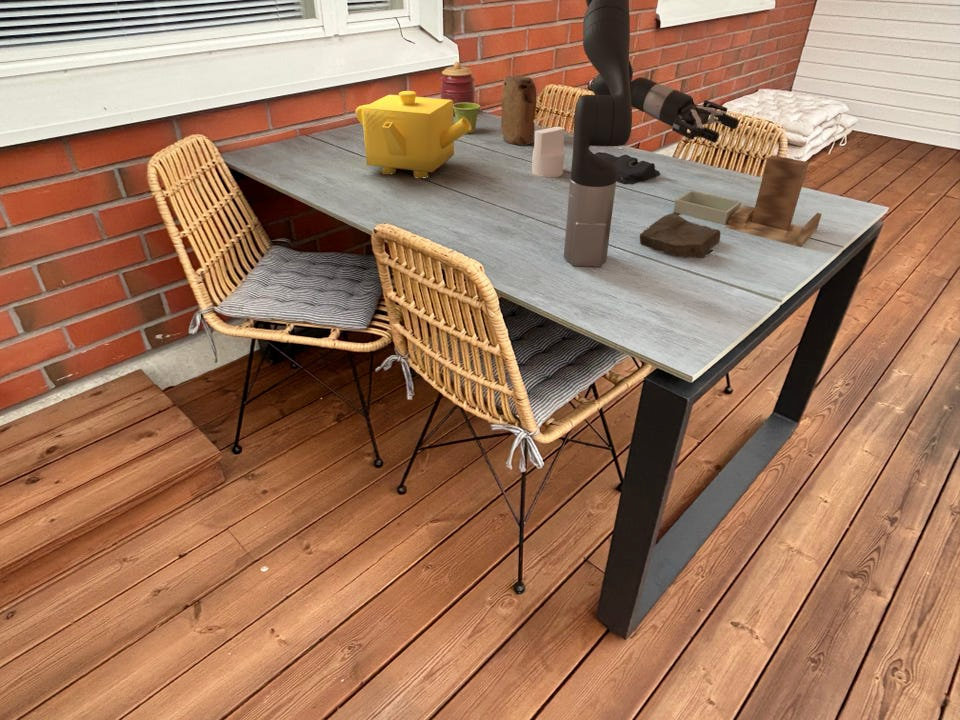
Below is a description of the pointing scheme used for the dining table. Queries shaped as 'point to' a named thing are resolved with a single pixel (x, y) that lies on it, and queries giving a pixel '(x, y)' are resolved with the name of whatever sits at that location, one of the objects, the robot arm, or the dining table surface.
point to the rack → (793, 236)
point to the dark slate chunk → (630, 168)
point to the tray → (706, 207)
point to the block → (518, 110)
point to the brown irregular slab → (680, 237)
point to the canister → (457, 84)
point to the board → (779, 192)
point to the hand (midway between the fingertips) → (727, 131)
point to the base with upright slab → (548, 152)
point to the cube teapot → (410, 132)
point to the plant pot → (467, 113)
